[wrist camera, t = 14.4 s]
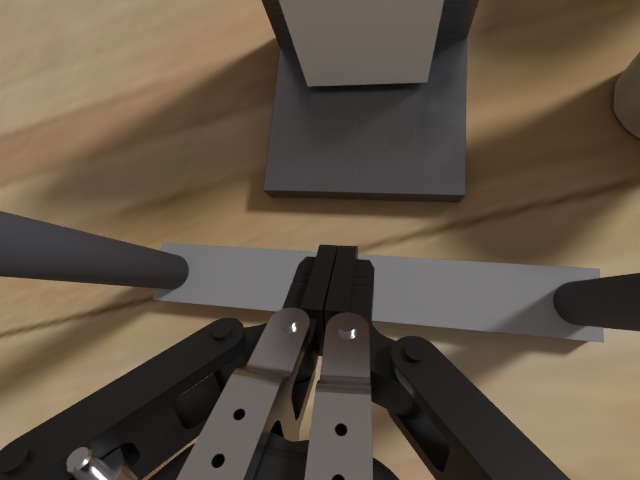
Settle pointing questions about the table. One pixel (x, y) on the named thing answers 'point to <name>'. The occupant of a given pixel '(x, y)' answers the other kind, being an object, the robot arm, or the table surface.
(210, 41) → the table surface
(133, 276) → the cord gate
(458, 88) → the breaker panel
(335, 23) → the block
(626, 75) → the flower pot
